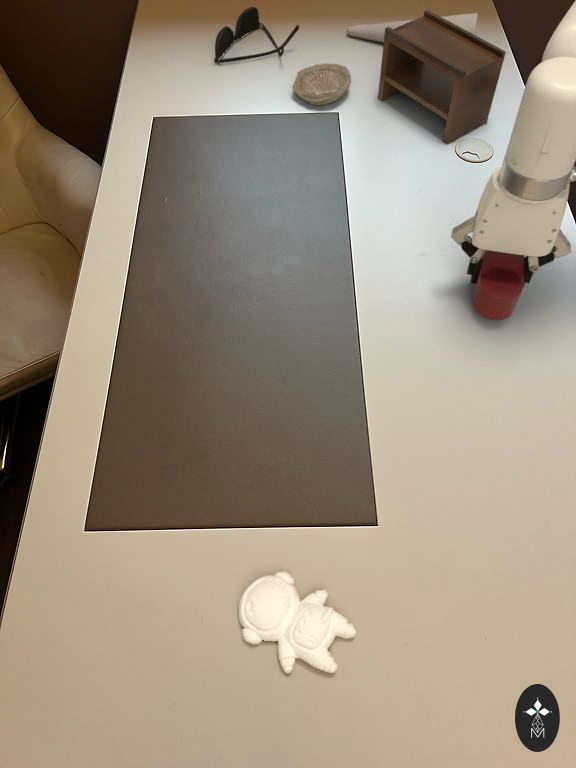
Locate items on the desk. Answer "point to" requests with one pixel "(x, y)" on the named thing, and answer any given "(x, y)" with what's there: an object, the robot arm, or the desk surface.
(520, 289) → the red rounded block
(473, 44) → the rack
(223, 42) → the sunglasses
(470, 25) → the pale tapered cone
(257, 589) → the astronaut figurine
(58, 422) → the desk surface
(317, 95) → the fossil
